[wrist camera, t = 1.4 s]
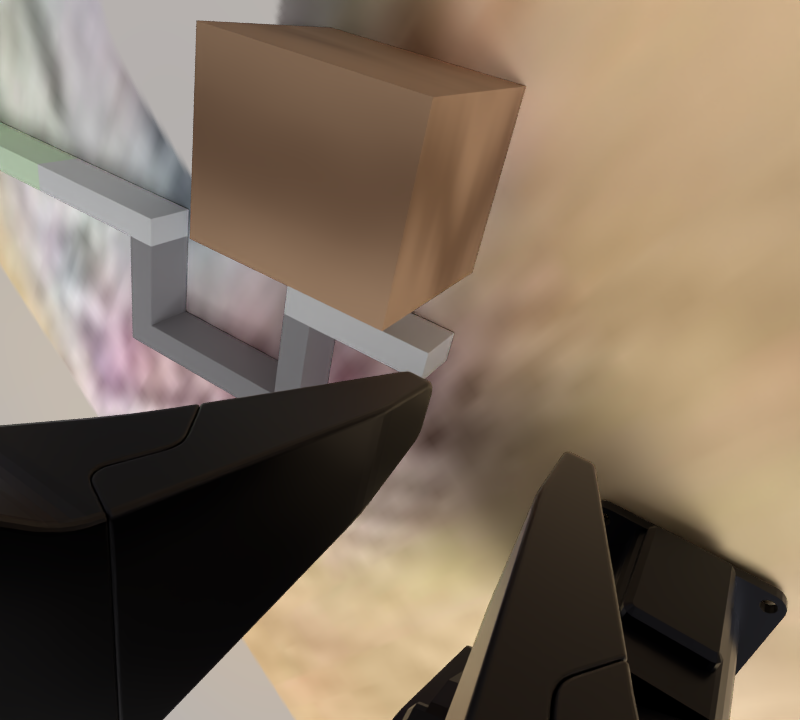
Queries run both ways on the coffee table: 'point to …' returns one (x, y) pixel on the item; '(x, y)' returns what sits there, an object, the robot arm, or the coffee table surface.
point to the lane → (395, 346)
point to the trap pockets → (216, 332)
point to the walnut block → (344, 163)
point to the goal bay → (25, 155)
